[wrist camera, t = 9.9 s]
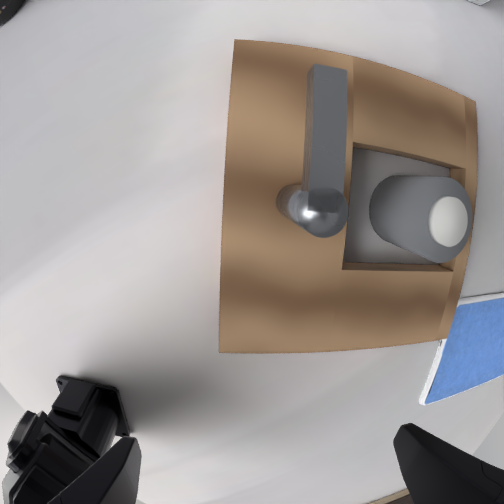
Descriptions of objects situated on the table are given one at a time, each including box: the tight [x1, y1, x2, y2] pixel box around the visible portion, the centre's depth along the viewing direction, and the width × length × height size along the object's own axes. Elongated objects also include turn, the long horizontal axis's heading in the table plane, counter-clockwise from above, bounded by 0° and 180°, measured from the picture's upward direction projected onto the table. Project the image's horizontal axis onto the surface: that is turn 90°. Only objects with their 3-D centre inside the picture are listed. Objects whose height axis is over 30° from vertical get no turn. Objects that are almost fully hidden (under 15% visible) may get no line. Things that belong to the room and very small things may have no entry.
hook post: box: [276, 64, 349, 238], centre depth 13 cm, size 7×2×6 cm, turn 177°
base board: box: [219, 39, 478, 353], centre depth 18 cm, size 20×19×2 cm
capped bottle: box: [369, 176, 472, 263], centre depth 17 cm, size 5×5×6 cm
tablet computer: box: [419, 293, 504, 405], centre depth 24 cm, size 19×13×1 cm, turn 89°
